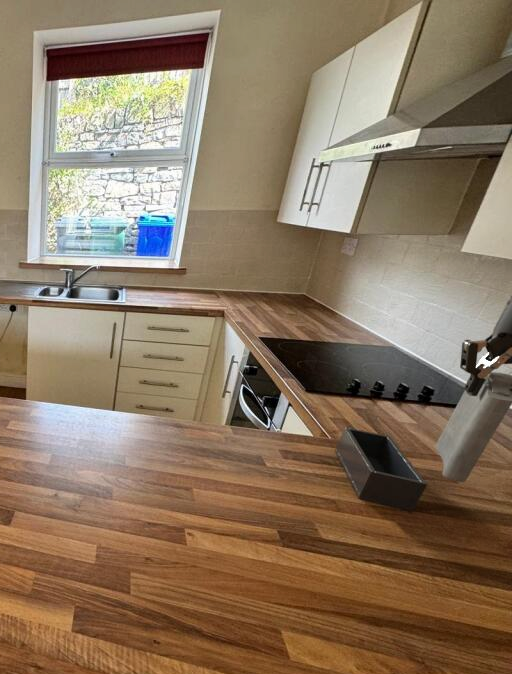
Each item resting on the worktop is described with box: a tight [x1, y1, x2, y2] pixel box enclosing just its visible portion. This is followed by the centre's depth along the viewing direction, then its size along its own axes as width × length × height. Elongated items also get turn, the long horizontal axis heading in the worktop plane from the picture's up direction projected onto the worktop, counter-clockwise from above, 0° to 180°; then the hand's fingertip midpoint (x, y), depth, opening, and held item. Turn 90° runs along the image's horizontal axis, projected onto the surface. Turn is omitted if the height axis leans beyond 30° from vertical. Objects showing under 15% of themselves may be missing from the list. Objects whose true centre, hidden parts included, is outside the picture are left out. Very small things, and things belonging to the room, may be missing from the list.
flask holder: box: [334, 426, 428, 513], centre depth 89 cm, size 9×21×7 cm, turn 153°
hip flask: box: [434, 371, 512, 483], centre depth 79 cm, size 16×4×20 cm, turn 140°
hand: (489, 396), depth 77 cm, fingers closed on hip flask, 4 cm apart
